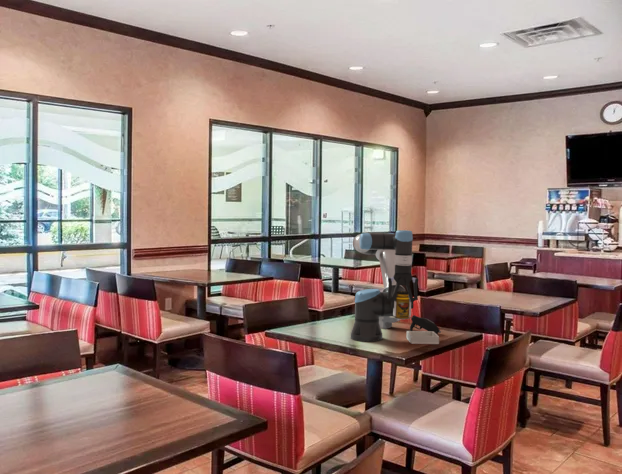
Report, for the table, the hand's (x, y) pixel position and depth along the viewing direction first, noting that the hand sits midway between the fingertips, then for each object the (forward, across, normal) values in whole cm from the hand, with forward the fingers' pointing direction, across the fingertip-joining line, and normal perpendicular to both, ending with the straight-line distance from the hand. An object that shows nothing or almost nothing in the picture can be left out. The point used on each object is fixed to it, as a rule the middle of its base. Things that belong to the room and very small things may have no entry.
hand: (401, 315), depth 265 cm
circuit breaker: (+14, 0, +44) cm, 46 cm away
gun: (+14, +17, +29) cm, 36 cm away
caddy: (+14, +12, +12) cm, 22 cm away
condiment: (+1, -1, 0) cm, 1 cm away
